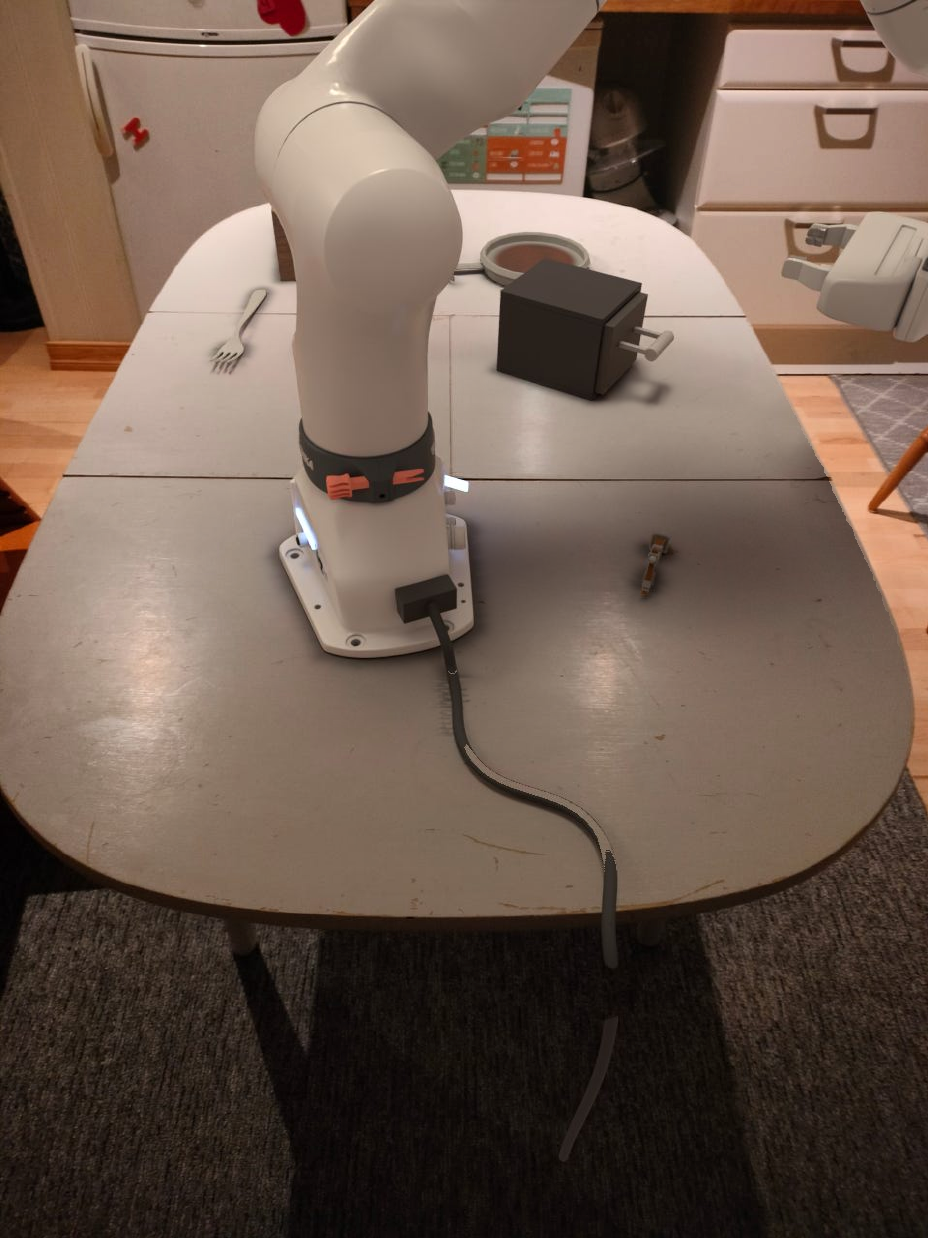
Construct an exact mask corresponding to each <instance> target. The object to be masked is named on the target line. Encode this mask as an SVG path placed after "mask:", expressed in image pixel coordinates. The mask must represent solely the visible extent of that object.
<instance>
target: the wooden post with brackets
mask: <svg viewBox="0 0 928 1238" xmlns="http://www.w3.org/2000/svg"><path fill="white" fill-rule="evenodd" d="M671 537H672V536H671V535H670V534H665V533H661V532H656V531H652V534H651V537H650V541H649V546H648V550H649V552H648V555H647V558H646V563H648V565H647V568H646V570H645V572H644V573H643V577H642V579H641V583H642V585H641V587H642V588H641V592H640V594H641V595H644V596H648V595H649V590H650V589H651V586H653V585H654V581H655V579H656V578H655V577H656V572H655V571H654V570H655V566H656V565H658V562H659V560H661V556H662V553H664V554H667V552H668V548H669V545H670V540H671Z"/></svg>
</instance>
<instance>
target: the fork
mask: <svg viewBox="0 0 928 1238" xmlns="http://www.w3.org/2000/svg"><path fill="white" fill-rule="evenodd" d="M266 296H267V291H266V289H257V290H254V292H253V293H252V294H251V296H250V298H249V300H248V303H247V305H246V307H245V309H244V312H243V314H242V316H241V318H240V320H239V322H238V323H237V325H236V327H235V329H234V332H233V334H232V336H231V337H230V338H229V340H228V341H227V342H225V344H224V345H222V346H221V348H219V350H218V351H217V353H216V354H215V355H214V356H213V357H212V358H210V359H209V360H208V361H209V363H210V362H213V361H214V362H215V363H217V362H220V363H221V364H222V363H224V362H225V363H226V364H228V363H232V362H233V361H234V360H236V359H237V358H239V357H240V356H241V355H242V354H243V353H244V352H245V351H244V350H245V348H244V345H243V343H242V342H241V340H240V331H241V329H242V327H243V326H244V325H245V324H246V322H247V321H248V320H249V318H250V317H251V316H252V315H253V314H254V313H255V311H256V310H257V309H258V307H260V304H261V303H263V301H264V299H265V298H266ZM221 354H222V355H221ZM220 355H221V356H220Z"/></svg>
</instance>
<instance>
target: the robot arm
mask: <svg viewBox="0 0 928 1238" xmlns="http://www.w3.org/2000/svg"><path fill="white" fill-rule="evenodd" d="M607 1H608V0H373V1H372V2H371V3H370V4H369V5H368V6H367V7H366V8H364V10H363V11H362V12H361V13H360V14H359V15H357V16H356V18H354V19H353V20H352V21H351V22H350V23H349V24H348V25H347V26H346V27H345V28H344V29H342V31H340V32H339V33H338V34H337V35H336V36H335V38H333V39H332V40H331V41H330V42H329V43H328V44H327V45H326V46H325V47H324V48H323V49H322V50H321V51H320V52H319V54H317V56H316V57H315V58H314V59H313V60H312V61H311V62H310V63H309V64H308V65H307V66H306V67H305V68H304V69H303V70H302V71H301V72H300V73H299V74H298V75H297V76H295V77H293V78H292V79H290V80H287V81H286V82H284V83H282V84H280V86H278V87H276V89H275V90H273V91H272V93H270V95H269V96H268V97H267V98H266V100H265V102H264V103H263V104H262V106H261V109H260V111H259V112H258V116H257V119H256V122H255V128H254V139H253V141H254V142H253V151H254V152H253V153H254V166H255V172H256V177H257V180H258V184H259V187H260V189H261V191H262V193H263V195H264V197H265V199H266V201H267V202H268V203H269V206H270V207H272V208H273V210H274V212H275V213H276V215H277V217H278V218H279V221H280V223H281V225H282V227H283V229H284V231H285V234H286V237H287V240H288V243H289V246H290V249H291V253H292V257H293V261H294V267H295V275H296V280H295V283H296V285H295V286H296V287H295V288H296V318H295V330H294V334H293V336H292V342H291V347H292V355H293V361H294V369H295V376H296V385H297V392H298V399H299V407H300V415H301V417H300V419H299V423H298V433H299V434H298V447H299V451H300V454H301V460H302V461H301V462H302V465H301V467H300V468H299V470H298V472H297V473H296V474H295V475H294V476H293V477H292V479H291V480H290V481H289V488H290V497H291V505H292V514H293V520H294V527H295V534H293V535H291V536H290V537H288V538H286V539H285V540H284V541H283V542H282V543H281V544H280V545H279V547H278V548H279V549H278V551H279V560H280V561H281V563H282V566H283V568H284V570H285V572H286V574H287V576H288V579H289V580H290V583H291V584H292V587H293V589H294V591H295V593H296V595H297V597H298V600H299V602H300V604H301V606H302V608H303V610H304V612H305V614H306V617H307V619H308V621H309V623H310V625H311V628H312V629H313V631H314V634H315V636H316V638H317V640H318V642H319V644H320V646H321V647H322V649H323V650H324V651H325V652H326V653H328V654H329V653H330V654H332V655H336V656H340V657H347V658H359V659H365V658H366V659H367V658H368V659H369V658H371V659H372V658H373V659H374V658H383V657H384V658H385V657H394V656H400V655H407V654H411V653H412V654H413V653H417V652H422V651H427V650H429V649H434V648H437V647H440V648H441V653H442V656H443V657H442V658H443V661H444V666H445V671H446V676H447V680H448V684H449V693H450V699H451V719H452V720H451V722H452V730H453V735H454V739H455V743H456V744H457V747H458V750H459V751H460V753H461V755H462V757H463V758H464V759H465V761H466V762H467V763H468V765H469V766H470V767H471V768H472V770H473V771H474V772H475V773H476V774H477V775H478V776H479V777H480V778H482V779H484V780H485V781H486V782H487V783H489V784H491V785H492V786H494V787H496V788H497V789H500V790H502V791H505V792H507V793H509V794H512V795H515V796H518V797H521V798H523V799H528V800H530V801H534V802H537V803H540V804H543V805H546V806H549V807H552V808H553V809H557V810H559V811H561V812H562V813H565V814H567V815H568V816H570V817H572V818H573V819H574V820H575V821H577V822H578V823H580V824H581V825H582V827H584V828H585V829H586V831H587V832H588V834H590V835H591V837H592V839H593V840H594V842H595V844H596V846H597V848H598V850H599V854H600V856H601V858H602V853H601V849H600V845H599V842H598V838H597V836H596V835H595V833H594V831H593V829H592V828H591V827H590V826H589V825H588V823H587V822H586V821H585V820H584V819H583V818H581V817H580V816H579V815H578V814H577V813H575V812H573V811H572V810H570V809H568V808H567V807H565V806H563V805H560V804H558V803H556V802H553V801H550V800H548V799H545V798H542V797H539V796H535V795H532V794H529V793H526V792H523V791H520V790H517V789H514V788H511V787H509V786H506V785H504V784H501V783H499V782H497V781H496V780H494V779H492V778H490V777H489V776H487V775H486V774H485V773H483V772H482V771H481V770H480V769H479V768H478V767H477V766H476V765H475V764H474V763H473V762H472V761H471V759H470V758H469V756H468V755H467V753H466V750H465V748H464V747H465V746H466V744H467V745H468V746H469V748H470V749H471V750H472V751H473V753H474V754H475V755H476V756H477V758H478V759H479V760H480V761H481V762H482V763H483V764H484V765H485V766H486V767H488V768H489V769H490V770H492V771H493V772H495V771H494V770H493V769H491V767H489V766H487V765H486V764H485V762H483V761H482V760H481V759H480V757H479V756H478V755H477V754H476V752H475V751H474V749H473V747H472V746H471V744H470V742H469V739H468V736H467V732H466V728H465V721H464V706H463V694H462V687H461V681H460V676H459V672H458V671H459V670H458V666H457V662H456V657H455V651H454V648H453V647H454V646H453V644H452V642H453V641H455V640H456V639H458V638H461V637H462V636H464V635H465V634H466V633H468V632H469V631H470V630H471V629H472V628H473V627H474V625H475V624H474V623H475V617H474V616H475V615H474V604H473V603H474V602H473V592H472V589H473V588H472V579H471V564H470V554H469V553H470V552H469V541H468V528H467V523H466V521H465V520H464V519H462V518H461V517H459V516H456V515H452V514H448V513H447V512H446V507H447V506H455V505H456V491H455V490H452V489H451V490H449V489H448V490H447V489H446V487H449V488H453V489H456V490H459V491H462V492H466V493H467V492H468V491H469V481H467V480H463V479H459V478H456V477H452V476H449V475H446V461H444V460H443V459H442V458H440V457H439V456H438V455H436V435H435V434H436V433H435V429H434V424H433V417H432V415H431V412H430V411H429V360H428V359H429V356H428V355H429V340H430V331H431V326H432V321H433V316H434V312H435V307H436V303H437V299H438V296H440V294H441V293H442V292H443V291H444V289H445V288H446V287H447V285H448V284H449V283H450V282H451V280H450V279H451V278H452V276H453V275H454V274H455V272H456V271H457V270H456V267H457V265H458V264H459V261H460V258H461V254H462V250H463V241H464V234H463V233H464V232H463V223H462V218H461V214H460V211H459V208H458V205H457V203H456V200H455V198H454V197H455V196H454V195H453V193H452V189H451V188H450V185H449V183H448V182H447V178H446V177H445V175H444V173H443V171H442V169H441V167H440V165H439V164H438V162H437V160H438V159H440V158H441V157H442V156H443V155H445V154H446V153H447V152H448V151H450V150H451V149H452V148H453V147H455V146H456V145H457V144H458V143H460V142H462V140H464V139H466V138H467V137H469V136H470V135H472V134H473V133H475V132H476V131H477V130H479V129H481V128H482V127H485V126H486V125H489V124H492V123H494V122H497V121H500V120H503V119H505V118H508V117H509V116H510V115H512V114H513V113H515V112H516V111H517V110H519V108H521V107H522V106H523V104H525V102H526V101H527V100H528V99H529V97H530V96H531V95H532V94H533V93H534V91H535V90H536V89H537V88H538V86H540V84H541V83H542V82H543V80H544V79H545V78H546V76H547V75H548V74H549V73H550V72H551V70H552V69H553V68H554V67H555V65H556V64H558V62H559V61H560V59H561V58H562V57H563V56H564V55H565V53H566V52H567V51H568V50H569V48H571V46H572V45H573V44H574V42H575V41H576V40H577V39H578V38H579V36H580V35H581V34H582V33H583V31H584V30H585V29H586V28H587V27H588V25H589V24H591V22H592V20H593V19H594V18H595V17H596V15H597V14H598V13H599V12H600V11H601V9H602V8H603V7H604V5H605V4H606V3H607ZM859 2H860V3H861V5H862V7H863V9H864V11H865V13H866V15H867V18H868V19H869V21H870V22H871V24H872V27H873V29H874V31H875V32H876V34H877V36H878V37H879V39H880V41H881V42H882V44H883V46H884V47H885V48H886V50H887V51H888V52H889V54H890V55H891V56H892V57H893V59H895V60H896V61H897V62H898V63H899V64H900V66H902V67H903V68H904V69H905V70H907V72H910V73H913V74H916V75H921V76H927V77H928V0H859ZM804 242H805V244H806V245H808V246H814V247H818V248H821V247H823V246H830V247H839V249H840V250H842V251H841V252H840V254H839V256H838V257H837V259H836V261H835V262H834V264H833V265H830V264H824V263H821V264H820V265H818V264H816V263H813V262H811V261H808V260H807V257H806V256H801V255H796V254H790V255H789V256H788V257H787V258H786V259H785V261H783V265H782V268H781V271H780V272H781V273H780V274H781V277H783V278H785V279H790V280H793V281H797V282H799V283H800V284H801V285H803V286H805V287H806V288H808V289H809V290H811V291H814V292H819V295H818V299H817V302H816V310H817V311H818V312H819V313H821V315H824V316H825V317H826V318H828V319H831V320H834V321H838V322H840V323H844V324H848V325H851V326H855V327H859V328H864V329H866V330H872V331H877V332H889V331H892V330H894V331H893V333H892V337H893V338H894V339H896V340H898V341H901V342H906V343H916V342H917V341H919V340H920V339H922V338H923V337H925V336H926V335H928V222H926V221H924V220H919V219H915V218H912V217H909V216H908V217H907V216H904V215H899V214H896V213H895V214H894V213H891V212H886V211H868V212H867V213H866V214H865V216H864V217H863V219H862V220H861V222H860V223H859V225H857V224H852V223H843V224H842V223H841V224H830V225H828V224H824V223H819V222H815V223H813V224H812V225H810V227H809V229H807V234H806V236H805V241H804ZM456 670H457V672H456V673H455V671H456ZM448 671H449V672H450V673H455V674H450V673H449V672H448ZM495 773H496V774H498V775H500V776H502V777H504V776H503V775H501V774H499V773H497V772H495ZM504 778H506V779H509V780H511V781H513V782H516V783H519V784H522V785H525V786H528V787H532V788H535V789H538V790H541V791H544V792H548V793H550V794H553V795H556V796H559V797H561V798H563V799H565V800H568V801H570V802H571V803H573V804H575V805H576V806H578V807H580V808H581V809H582V810H584V808H582V807H581V806H579V805H578V804H577V803H575V802H572V801H571V800H569V799H567V798H564V797H562V796H561V795H557V794H555V793H552V792H549V791H547V790H546V791H545V790H542V789H540V788H536V787H533V786H529V785H527V784H523V783H520V782H519V781H514V780H512V779H510V778H507V777H504ZM584 811H585V812H586V813H587V814H588V815H590V816H591V817H592V818H593V816H592V815H591V814H590V813H589V812H587V811H586V810H584ZM593 820H594V821H595V822H596V823H597V824H598V825H599V823H598V822H597V821H596V820H595V818H593ZM599 827H600V828H601V829H602V827H601V825H599ZM602 831H603V832H604V830H603V829H602ZM604 834H605V835H606V833H605V832H604ZM606 837H607V839H608V836H607V835H606ZM608 841H609V839H608ZM609 843H610V845H611V842H610V841H609ZM611 846H612V845H611ZM612 850H613V853H614V849H613V848H612ZM606 851H610V850H606ZM605 853H606V854H605V855H606V859H605V860H606V861H605V864H604V865H605V867H604V868H605V869H604V870H605V872H604V870H603V886H602V900H601V901H602V903H601V917H600V918H601V919H600V921H601V926H600V927H601V929H600V931H601V945H602V955H603V956H602V958H603V961H604V965H605V966H607V967H608V968H609V969H613V970H614V969H616V968H617V967H618V964H619V955H618V948H617V933H616V932H617V930H616V928H617V927H616V923H617V922H616V916H617V897H618V896H617V895H618V869H617V870H616V865H617V863H616V864H615V861H614V860H616V858H615V859H614V857H613V856H612V855H613V854H612V853H611V851H610V852H605ZM614 854H615V853H614ZM601 862H602V863H603V860H602V859H601ZM604 873H605V874H604ZM610 923H611V924H610ZM603 1022H604V1024H603V1029H602V1036H601V1042H600V1046H599V1050H598V1055H597V1058H596V1062H595V1065H594V1069H593V1071H592V1074H591V1077H590V1079H589V1082H588V1085H587V1087H586V1089H585V1092H584V1094H583V1096H582V1098H581V1101H580V1103H579V1105H578V1107H577V1110H576V1111H575V1114H574V1116H573V1118H572V1120H571V1122H570V1125H569V1127H568V1129H567V1132H566V1133H565V1136H564V1140H563V1141H562V1144H561V1147H560V1150H559V1153H558V1159H559V1161H561V1162H562V1163H563V1162H566V1161H567V1160H568V1158H569V1155H570V1153H571V1150H572V1148H573V1145H574V1143H575V1141H576V1139H577V1137H578V1135H579V1132H580V1130H581V1129H582V1126H583V1125H584V1122H585V1121H586V1118H587V1117H588V1115H589V1113H590V1111H591V1108H592V1106H593V1104H594V1102H595V1100H596V1099H597V1096H598V1093H599V1092H600V1089H601V1086H602V1084H603V1081H604V1079H605V1076H606V1073H607V1070H608V1067H609V1064H610V1061H611V1057H612V1053H613V1050H614V1045H615V1040H616V1035H617V1030H618V1024H619V1016H614V1017H610V1018H607V1019H604V1021H603Z"/></svg>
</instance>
